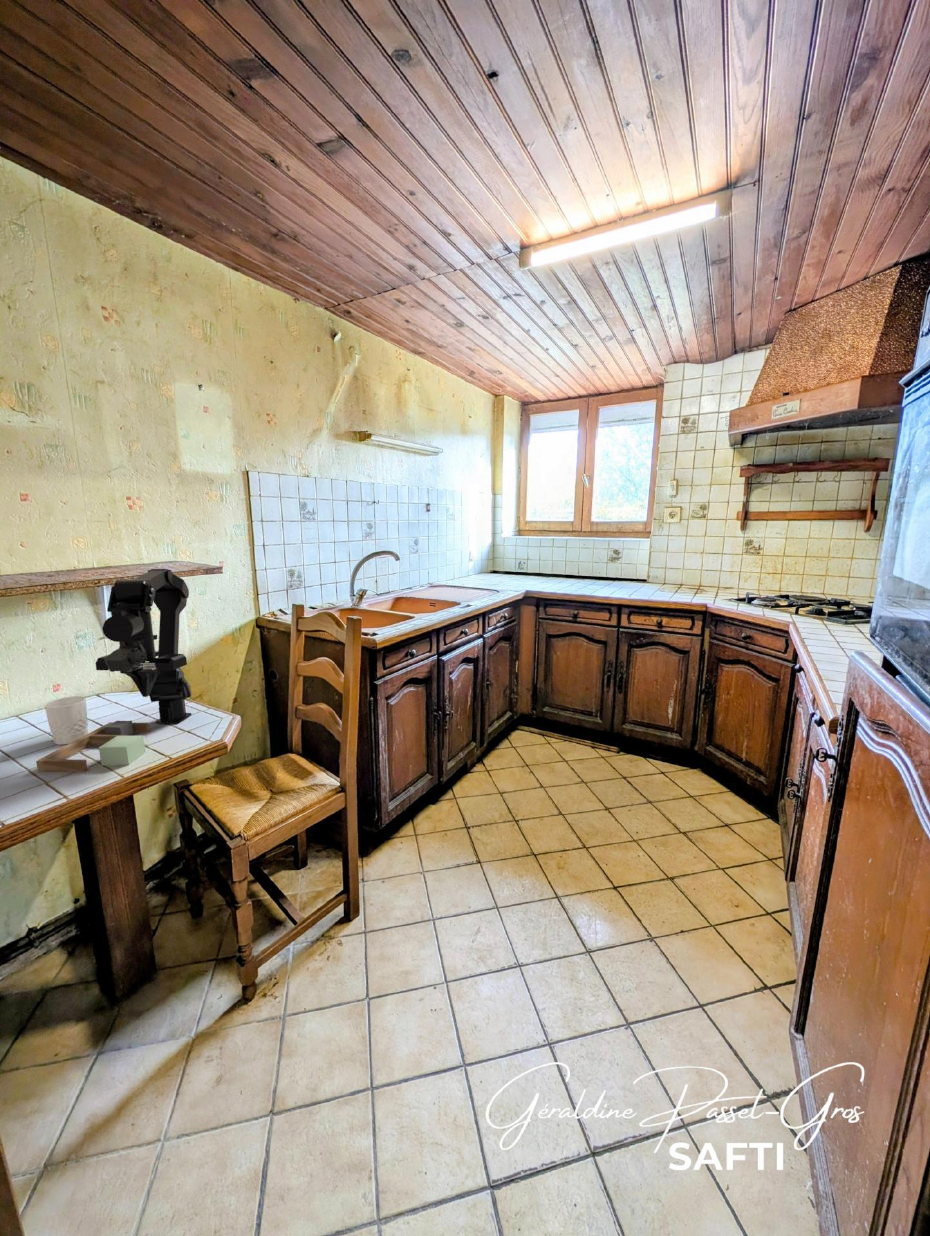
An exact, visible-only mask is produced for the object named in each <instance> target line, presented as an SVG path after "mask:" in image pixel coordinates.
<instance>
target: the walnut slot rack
mask: <svg viewBox="0 0 930 1236" xmlns="http://www.w3.org/2000/svg"><path fill="white" fill-rule="evenodd" d="M113 722H114V721H113ZM113 722H108V723H106V724H104V725H102V726H100V727H98V728H95V730H93V731H91V732H88V734H87V735H85V736H83V737H81V738H79V739H77V740H75V741H73V742H71V743H70V744H65V745H64V746H62V747H60V748H59V749H56V750H54V751H52V752H51V753H48V754H47V755H45V756H44V757H41V758H39V759H38V760H36V761H35V762H36V767H37V768H36V769H37V771H38V772H56V773H57V772H64V773H65V772H67V773H68V772H71V773H74V772H75V773H77V772H78V773H80V772H81V773H85V772H87V771H88V769H89V768H88V764H87V759H69V758H71V757H72V756H74V755H76V754H78V753H79V752H81V751H83V750H86V748H88V747H91V746H102V745H104V744H105V743H107V742H108V741H110V740H112V739H113V738H115V737H116V736H128V735H106V734H105V728H104V727H106V726H108V725H109V724H111V723H113ZM132 726H133V733H134V734H135V733H136V734H137V733H139V734H140V733H141V734H142V733H143V734H144V733H145V734H146V733H147V734H148V733H149V732H150V731H151V729H150V723H149V722H132Z"/></svg>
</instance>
